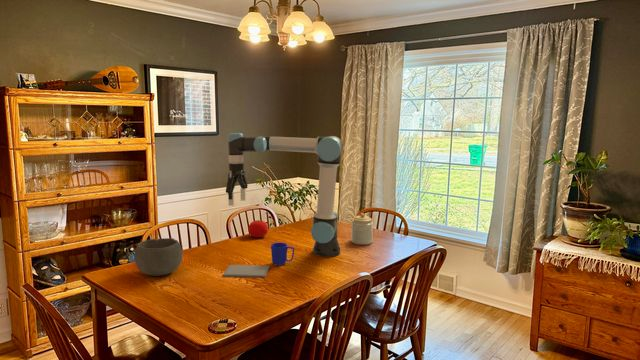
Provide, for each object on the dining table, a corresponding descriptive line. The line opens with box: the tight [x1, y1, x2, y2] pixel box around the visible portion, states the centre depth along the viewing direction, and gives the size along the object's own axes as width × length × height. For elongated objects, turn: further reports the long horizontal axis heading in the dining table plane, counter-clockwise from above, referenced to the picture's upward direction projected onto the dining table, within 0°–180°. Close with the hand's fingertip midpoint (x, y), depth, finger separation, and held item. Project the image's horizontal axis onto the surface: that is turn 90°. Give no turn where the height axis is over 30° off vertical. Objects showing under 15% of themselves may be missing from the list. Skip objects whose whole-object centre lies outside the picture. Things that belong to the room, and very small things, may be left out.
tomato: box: [247, 219, 269, 239], centre depth 267 cm, size 11×12×10 cm
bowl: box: [134, 237, 183, 277], centre depth 203 cm, size 21×21×15 cm
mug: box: [270, 242, 295, 266], centre depth 218 cm, size 8×12×10 cm
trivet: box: [221, 264, 270, 278], centre depth 207 cm, size 20×14×1 cm
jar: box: [350, 212, 374, 246], centre depth 258 cm, size 13×13×18 cm
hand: (237, 203), depth 227 cm, fingers open, 13 cm apart
